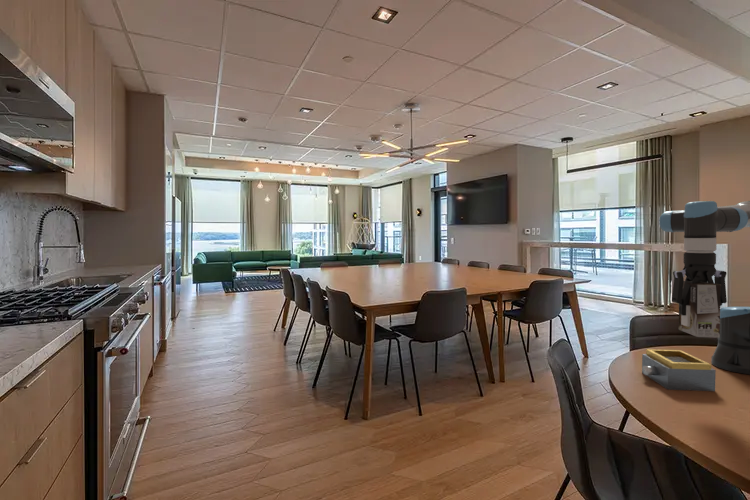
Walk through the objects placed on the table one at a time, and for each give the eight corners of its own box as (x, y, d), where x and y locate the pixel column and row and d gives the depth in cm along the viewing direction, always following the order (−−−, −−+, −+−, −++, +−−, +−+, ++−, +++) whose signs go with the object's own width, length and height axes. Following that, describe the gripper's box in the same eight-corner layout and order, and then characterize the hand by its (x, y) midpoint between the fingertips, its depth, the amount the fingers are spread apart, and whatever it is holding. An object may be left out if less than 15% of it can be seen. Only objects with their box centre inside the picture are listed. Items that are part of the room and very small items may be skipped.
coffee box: (721, 338, 109) (722, 284, 108) (696, 337, 110) (697, 284, 109) (700, 329, 118) (700, 280, 117) (677, 329, 119) (678, 280, 118)
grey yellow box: (684, 374, 133) (684, 350, 132) (715, 391, 118) (715, 364, 118) (633, 372, 135) (633, 349, 135) (657, 389, 121) (657, 362, 120)
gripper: (724, 250, 115) (723, 322, 116) (657, 251, 118) (656, 322, 119) (745, 251, 108) (743, 329, 109) (673, 253, 110) (672, 328, 111)
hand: (698, 325), depth 114 cm, fingers closed on coffee box, 7 cm apart
